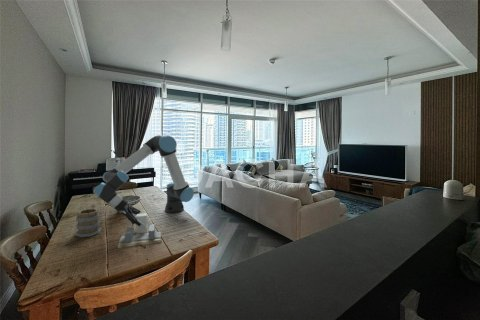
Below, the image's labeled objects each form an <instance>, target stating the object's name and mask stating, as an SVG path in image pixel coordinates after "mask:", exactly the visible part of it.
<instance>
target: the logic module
mask: <svg viewBox="0 0 480 320" xmlns="http://www.w3.org/2000/svg"><path fill="white" fill-rule="evenodd" d="M135 218H136V219H137V220H139V221H141V222H142V223H143V224H144V225H146V227H145V228H144V229H141V228H140V227H139V226H137V225H136V224H135V225H136V234H144V233H148V219H147V218H148V213H147V212H146V213H143V212H142V213H141V214H137V215H136V216H135Z"/></svg>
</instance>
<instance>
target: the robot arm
mask: <svg viewBox="0 0 480 320" xmlns="http://www.w3.org/2000/svg"><path fill="white" fill-rule="evenodd" d="M177 146H178V145H177V141H176V139H175V138H174V137H173V136H171V135H167V134H165V135H163V134H162V135H161V134H159V135H158V134H157V135H154V136H152V137H151V138H150V139H149V140H147V141H145V142H144V143H143V144H142V147H140V148H139V149H137V150H136V151H135V152H134V153H132V154H130V155H129V156H128V157H127V158H126V159H124V160H123V161H122V162H120V163H119V164H117V165H116V166H115V167H114V168H112V169H111V170H109V171H106V172H104V173H103V175H102V180H103V181H104V182H105V183H104V182H101V183H99V184H98V185H97V186H96V187H95V188H94V189H93V194H94V195H96V196H97V197H98V198H99V199H100V200H102V201H104V202H105V203H106V204H108V206H109V207H112V208H114V210H116V212H121V214H122V215H123V216H124V217H125V218H126V219H127V220H128V221H129V222H130V223H131V224H132V225H137V226H139V227H140V228H141V229H144V228H145V227H146V225H144V224H143V223H142V222H141V221H139V220H137V219H136V216H135V215H137V214H142V213H141V210H139V209H137V208H136V207H134V206H133V205H131V204H129V203H128V202H129V201H127V200H126V199H125V198H123V196H122V195H120V194H119V193H118V192H117V191H118V190H119V189H121V187H122V186H123V185H125V183H127V181H128V180H129V179H130V177H129V175H128V174H127V173H128V172H130V171H131V170H132V169H133V168H135V167H136V166H137V165H139V164H140V163H141V162H142V161H144V160H145V159H146V158H148V156H151V155H154V154H155V153H157V152H159V155H160V157H162V158H163V159H164V161H165V165H166V168H167V170H168V172H169V175H170V177H171V180H172V182H169V183H167V185H166V203H165V207H164V212H166V213H168V214H169V213H170V214H175V213H176V212H177V213H180V212H179V211H181V212H183V211H184V209H185V207H184V204H183V202H184V203H188V202H190V201H191V200H192V199H193V197H194V195H195V191H194V189H193V188H192V187H191V186H189V185H190V184H189V182H188V181H186V179H185V178H184V175H183V171H182V169H181V166H180V163H179V161H178V157H177V155H176V153H177ZM182 210H183V211H182ZM148 219H149V218H148V217H147V220H148Z"/></svg>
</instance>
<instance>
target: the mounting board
mask: <svg viewBox="0 0 480 320" xmlns="http://www.w3.org/2000/svg"><path fill="white" fill-rule="evenodd" d="M161 242H162V231H155V238H154V239H149V232H146V233H138V234H137V233H136V234H134V235H133V238H132V241H131V242H126V243H125V235H122V236H120V239H118V245H117V248H118V249H121V248H127V247H136V246H143V245H144V246H145V245H151V244H152V245H153V244H158V243H161Z"/></svg>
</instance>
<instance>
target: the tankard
mask: <svg viewBox="0 0 480 320" xmlns="http://www.w3.org/2000/svg"><path fill="white" fill-rule="evenodd" d="M100 217H101V213H100V212H99V209H97V208H96V204H94V203H92V205H91V207H90V208H86V209H82V210H79V211H78V212H77V213H76V217H75V220H76V221H77V224H76V229H77V231H75V236H77V237H79V238H87V237H92V236H95V235H98V234H100V233H101V232H102V230H103V229H102V227H101V226H100V225H101V220H100V219H99V218H100Z"/></svg>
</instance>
